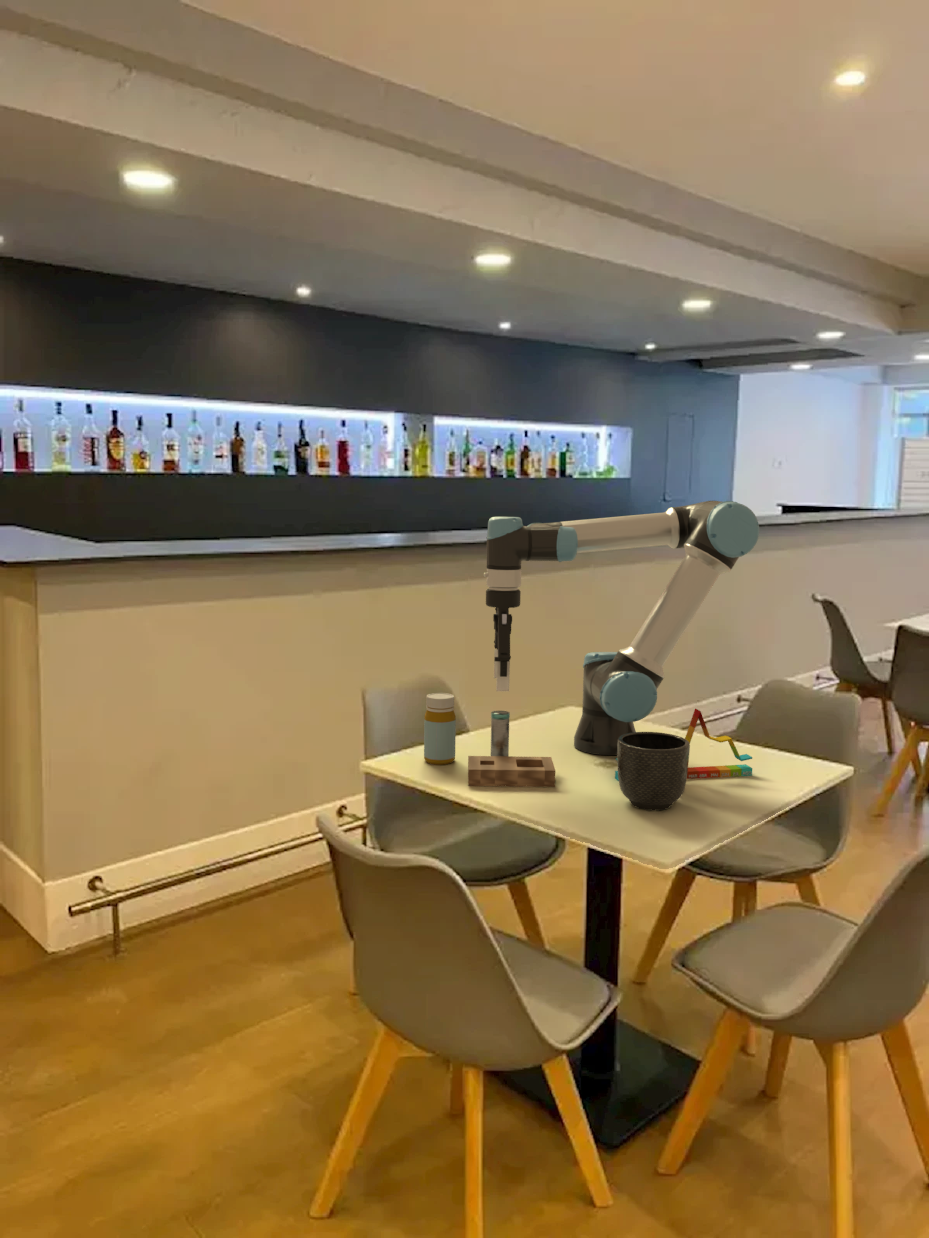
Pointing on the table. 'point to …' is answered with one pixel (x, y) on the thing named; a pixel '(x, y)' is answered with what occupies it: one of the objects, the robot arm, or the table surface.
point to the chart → (713, 770)
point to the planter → (652, 768)
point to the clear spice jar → (500, 733)
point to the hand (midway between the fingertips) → (501, 684)
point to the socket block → (511, 771)
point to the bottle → (439, 729)
